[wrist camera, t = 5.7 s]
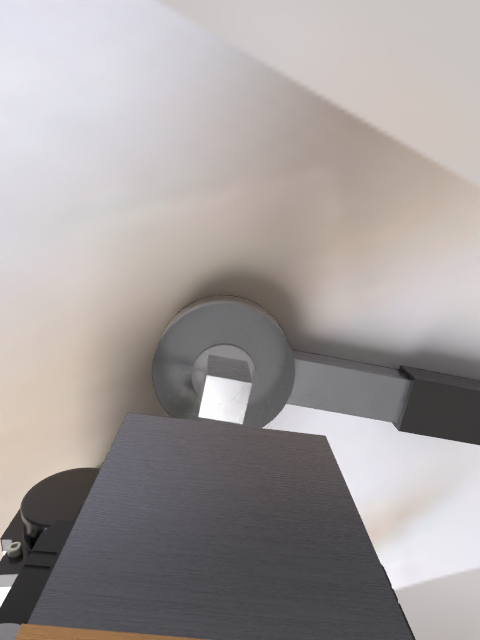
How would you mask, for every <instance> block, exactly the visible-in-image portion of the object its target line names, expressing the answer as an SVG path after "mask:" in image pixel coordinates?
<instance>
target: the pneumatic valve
mask: <svg viewBox="0 0 480 640" xmlns="http://www.w3.org/2000/svg"><path fill="white" fill-rule="evenodd" d="M99 472H100V469H98V468H76V469H71V470H67V471H63V472H59V473H57V474H54V475H52V476H49V477H47V478H45V479H44V480H42V481H40V482H39V483H37V484H36V485H35V486H33V487H32V488H31V489H30V490H29V491H28V492H27V494H26V495H25V496H24V498H23V500H22V502H21V507H20V509H19V511H18V513H17V514H16V516H15V517H14V519H13V520H12V522H11V523H10V525H9V526H8V528H7V529H6V531H5V532H4V534H3V535H2V537H1V538H0V540H1V546H2V552H3V558H2V559H1V561H0V606H1V604H2V602H3V601H4V599H5V597H6V595H7V593H8V592H9V590H10V588H11V586H12V585H13V583H14V581H15V579H16V577H17V576H18V574H19V572H20V570H21V568H23V566H24V563H25V561H26V559H27V558H28V556H29V554H31V551H32V549H33V547H34V545H35V543H36V542H37V540H38V538H39V536H40V534H41V533H42V532H43V531H45V530H46V529H47V528H48V527H49V526H51V525H52V524H53V523H54V522H55V521H57V520H66V521H73V519H74V517H75V515H76V513H77V511H78V509H79V507H80V505H81V503H82V502H83V501H86V499H87V497H88V495H89V493H90V491H91V488H92V486H93V484H94V482H95V480H96V478H97V476H98V474H99Z"/></svg>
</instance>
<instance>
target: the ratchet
mask: <svg viewBox="0 0 480 640" xmlns="http://www.w3.org/2000/svg"><path fill="white" fill-rule="evenodd" d="M152 378H153V384H154V389H155V392H156V395H157V397H158V399H159V401H160V403H161V405H162V406H163V408H164V409H165V411H166V412H167V413H168V414H169V415H170V417H171V418H178V419H186V420H195V421H203V422H212V423H220V424H229V425H238V426H246V427H255V428H262V427H264V426H265V425H267V424H268V423H270V422H271V421H272V420H273V419H274V418H275V417H276V416H277V415H278V414H279V413H280V411H281V410H282V409H283V407H284V406H285V404H291V405H297V406H303V407H308V408H314V409H320V410H325V411H331V412H337V413H342V414H348V415H353V416H359V417H365V418H370V419H376V420H382V421H387V422H392V423H393V424H394V426H395V427H396V428H397V429H398V431H402V432H408V433H413V434H419V435H425V436H431V437H436V438H442V439H448V440H453V441H459V442H465V443H471V444H476V445H480V381H479V380H474V379H469V378H463V377H458V376H453V375H448V374H442V373H437V372H432V371H426V370H421V369H416V368H411V367H405V366H400V369H399V370H397V369H391V368H386V367H381V366H375V365H370V364H365V363H359V362H354V361H349V360H344V359H338V358H333V357H328V356H322V355H317V354H312V353H306V352H301V351H296V350H291V347H290V345H289V343H288V341H287V339H286V337H285V335H284V333H283V331H282V329H281V327H280V326H279V324H278V323H277V321H276V320H275V319H274V317H273V316H272V315H271V314H270V313H269V312H268V311H266V310H265V309H264V308H262V307H261V306H259V305H258V304H256V303H254V302H252V301H250V300H247V299H244V298H241V297H237V296H229V295H218V296H211V297H207V298H203V299H200V300H198V301H195V302H193V303H191V304H190V305H188V306H186V307H185V308H183V309H182V310H181V311H179V312H178V313H177V314H176V315H175V316H174V317H173V319H172V320H171V321H170V323H169V324H168V325H167V327H166V329H165V331H164V333H163V335H162V337H161V340H160V342H159V344H158V347H157V349H156V352H155V355H154V359H153V367H152Z"/></svg>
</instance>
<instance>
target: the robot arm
mask: <svg viewBox="0 0 480 640" xmlns="http://www.w3.org/2000/svg"><path fill="white" fill-rule="evenodd" d="M84 503H85V501H83V502H82V503H81V505H80V507H79V509H78V511H77V513H76V515H75V517H74V519H73V521H66V520H57V521H55V522H54V523H53V524H52V525H51V526H49V527H48V528H47V529H46V530H45V531H43V532H42V533H41V534H40V536H39V538H38V540H37V542H36V543H35V545H34V547H33V549H32V551H31V554H29V556H28V558H27V559H26V561H25V563H24V566H23V568H21V570H20V572H19V574H18V576H17V577H16V579H15V581H14V583H13V585H12V586H11V588H10V590H9V592H8V593H7V595H6V597H5V599H4V601H3V602H2V604H1V606H0V640H14V639H15V637H16V635H17V633H18V631H19V629H20V627H21V625H22V624H27V623H28V621H29V619H30V617H31V615H32V612H33V610H34V608H35V606H36V604H37V602H38V600H39V598H40V596H41V594H42V591H43V589H44V587H45V585H46V583H47V581H48V579H49V577H50V575H51V573H52V570H53V568H54V566H55V564H56V562H57V560H58V558H59V556H60V554H61V552H62V549H63V547H64V545H65V543H66V541H67V539H68V537H69V535H70V533H71V530H72V528H73V526H74V524H75V522H76V520H77V518H78V516H79V514H80V512H81V509H82V507H83V505H84ZM381 566H382V565H381ZM382 568H383V570H384V573H385V575H386V577H387V580H388V582H389V584H390V587H391V583H390V580H389V578H388V576H387V574H386V571H385V569H384V567H383V566H382ZM391 589H392V587H391ZM392 591H393V594H394V596H395V598H396V601H397V603H398V599H397V596H396V594H395V592H394V590H393V589H392ZM398 605H399V607H400V610H401V612H402V614H403V617H404V619H405V621H406V624H407V626H408V628H409V631H410V633H411V635H412V638H413V640H415V637H414V635H413V633H412V631H411V628H410V626H409V624H408V621H407V619H406V617H405V615H404V612H403V611H402V608H401V606H400V604H398Z"/></svg>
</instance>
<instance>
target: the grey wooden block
mask: <svg viewBox="0 0 480 640" xmlns="http://www.w3.org/2000/svg"><path fill="white" fill-rule="evenodd" d="M14 640H413V638H412V635H411V633H410V631H409V628H408V626H407V624H406V621H405V619H404V617H403V614H402V612H401V610H400V607H399V605H398V603H397V601H396V598H395V596H394V594H393V591H392V589H391V587H390V584H389V582H388V580H387V577H386V575H385V573H384V570H383V568H382V566H381V563H380V561H379V559H378V557H377V554H376V552H375V550H374V547H373V545H372V543H371V540H370V538H369V536H368V533H367V531H366V529H365V526H364V524H363V522H362V519H361V517H360V515H359V512H358V510H357V508H356V506H355V503H354V501H353V499H352V496H351V494H350V492H349V489H348V487H347V485H346V482H345V480H344V478H343V475H342V473H341V471H340V468H339V466H338V464H337V461H336V459H335V457H334V455H333V452H332V450H331V448H330V445H329V443H328V441H327V438H326V436H323V435H314V434H306V433H297V432H289V431H280V430H272V429H263V428H255V427H246V426H238V425H229V424H220V423H212V422H203V421H195V420H186V419H178V418H169V417H161V416H152V415H144V414H135V413H127V415H126V417H125V419H124V421H123V423H122V425H121V427H120V430H119V432H118V434H117V436H116V438H115V440H114V442H113V444H112V446H111V448H110V451H109V453H108V455H107V457H106V459H105V461H104V463H103V465H102V467H101V469H100V472H99V474H98V476H97V478H96V480H95V482H94V484H93V486H92V488H91V491H90V493H89V495H88V497H87V499H86V501H85V503H84V505H83V507H82V509H81V512H80V514H79V516H78V518H77V520H76V522H75V524H74V526H73V528H72V530H71V533H70V535H69V537H68V539H67V541H66V543H65V545H64V547H63V549H62V552H61V554H60V556H59V558H58V560H57V562H56V564H55V566H54V568H53V570H52V573H51V575H50V577H49V579H48V581H47V583H46V585H45V587H44V589H43V591H42V594H41V596H40V598H39V600H38V602H37V604H36V606H35V608H34V610H33V612H32V615H31V617H30V619H29V621H28V623H27V624H22V625H21V627H20V629H19V631H18V633H17V635H16V637H15V639H14Z"/></svg>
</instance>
